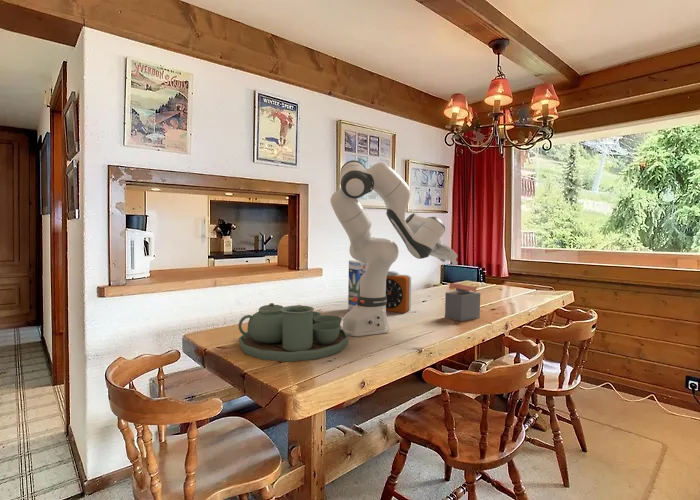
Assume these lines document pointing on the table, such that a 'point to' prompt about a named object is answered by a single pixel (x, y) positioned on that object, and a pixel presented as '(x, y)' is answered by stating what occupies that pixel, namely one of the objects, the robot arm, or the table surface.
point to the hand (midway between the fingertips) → (449, 262)
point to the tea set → (291, 334)
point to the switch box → (462, 305)
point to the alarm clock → (398, 292)
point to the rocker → (462, 288)
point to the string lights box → (355, 280)
